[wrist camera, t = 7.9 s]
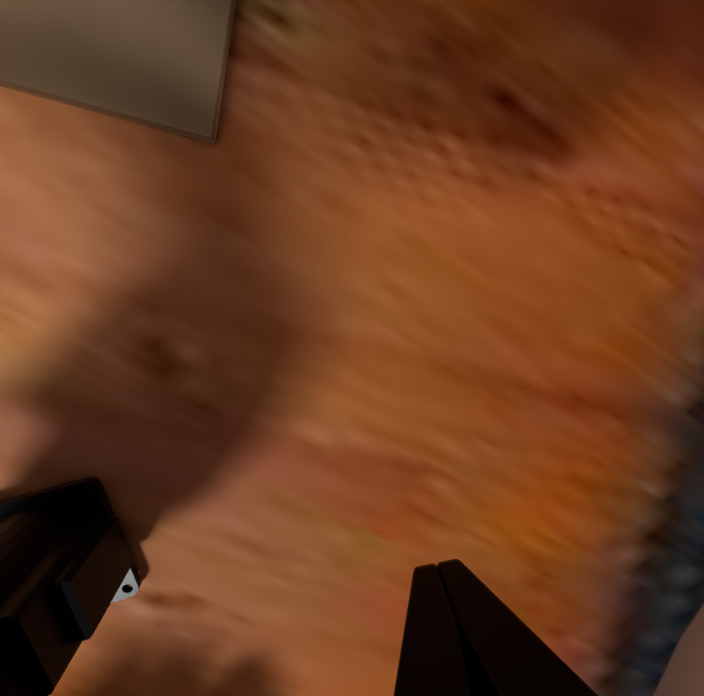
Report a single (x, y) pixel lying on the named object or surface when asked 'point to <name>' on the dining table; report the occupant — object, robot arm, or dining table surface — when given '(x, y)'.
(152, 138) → the dining table surface
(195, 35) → the tan base plate
